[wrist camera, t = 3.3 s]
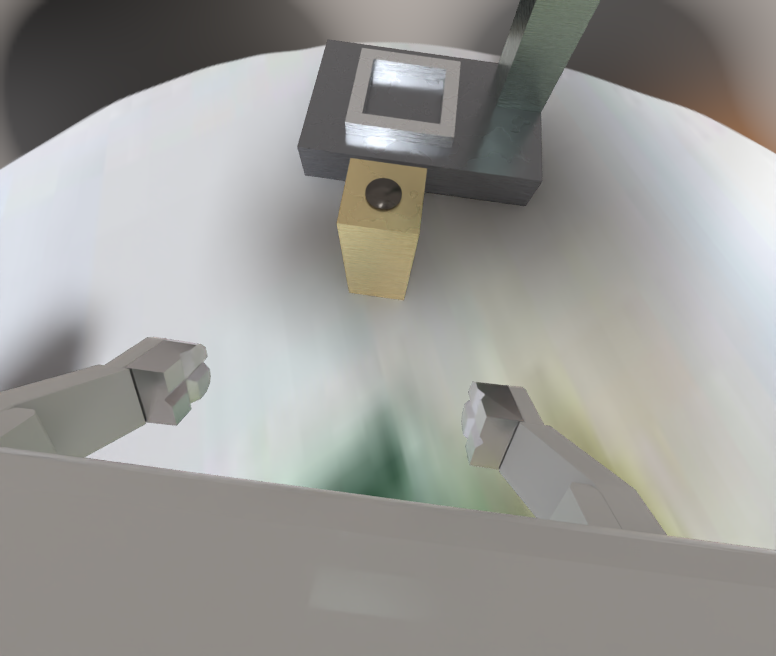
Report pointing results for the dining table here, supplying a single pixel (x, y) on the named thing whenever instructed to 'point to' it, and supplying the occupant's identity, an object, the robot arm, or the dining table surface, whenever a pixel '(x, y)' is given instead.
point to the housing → (380, 226)
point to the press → (445, 107)
